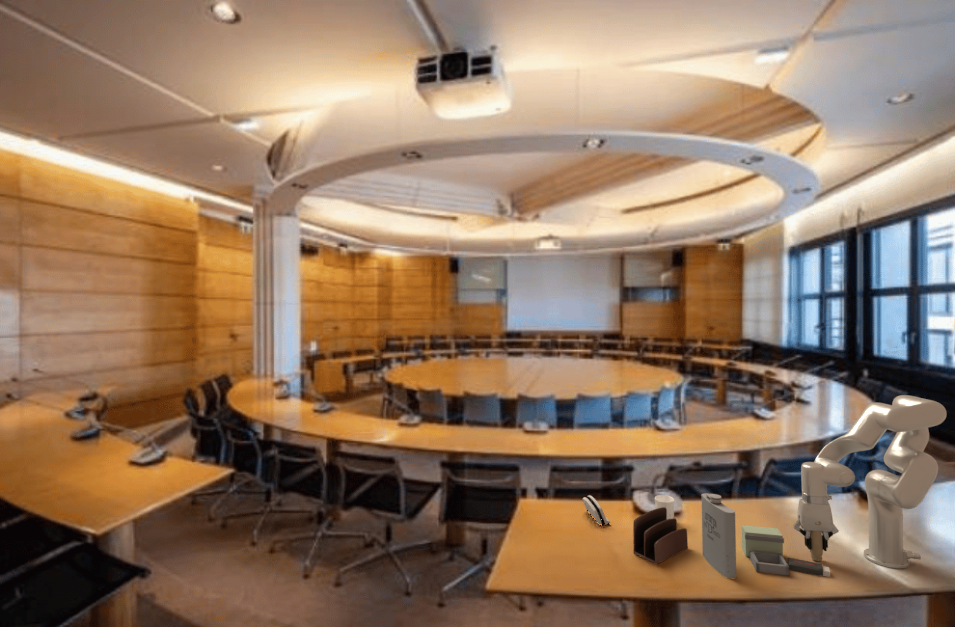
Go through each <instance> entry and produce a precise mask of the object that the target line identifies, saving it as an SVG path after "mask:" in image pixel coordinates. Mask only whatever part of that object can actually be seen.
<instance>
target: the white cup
mask: <svg viewBox="0 0 955 627" xmlns="http://www.w3.org/2000/svg"><path fill="white" fill-rule="evenodd" d="M662 507H665V508H666V509H667V520H668V519H673V518H675V498H673V497H672V496H670V495H666V494H663V495H662V494H658V495H655V497H654V508H655V509H657V508H662Z"/></svg>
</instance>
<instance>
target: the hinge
mask: <svg viewBox="0 0 955 627" xmlns="http://www.w3.org/2000/svg"><path fill="white" fill-rule="evenodd" d="M582 502H583V506H584V507H585V510H586V509H587V510H588V511H589V512H590V514H591V515H592V516H593V517H594V518H595V519H596V521H597V522H598V523H599V524H602V523H603V524H604V523H605V524H606V525H607V524H608V523H611V521H610V520H609V519H608V518H607V516H606V515H605V513H604V511H603V508H602V507H601V505H600V504H599V503H598V501H597V500H596V498H594V497H593V496H592V495H590V494H589V495H587V496H586V497H585V496H584V497H583V498H582ZM590 514H589V515H590ZM591 515H590V516H591ZM601 519H602V520H601ZM596 521H595V522H596ZM597 522H596V523H597ZM605 524H604V525H605ZM608 525H609V524H608Z"/></svg>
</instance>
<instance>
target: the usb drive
mask: <svg viewBox="0 0 955 627" xmlns="http://www.w3.org/2000/svg"><path fill="white" fill-rule="evenodd" d="M787 564H788V566H789V571H794V572H799V573H803V574H808V575H812V576H818V577H823V576H824V577H829V578H830V577H831V571H830V567H829V566H823V565H822V563H818V562H813V561H808V560H804V559H803V560H802V559H798V558H793V557H788V558H787Z"/></svg>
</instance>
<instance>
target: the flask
mask: <svg viewBox="0 0 955 627" xmlns="http://www.w3.org/2000/svg"><path fill="white" fill-rule="evenodd" d="M700 496H701V529H702V530H701V534H702V535H701V536H702V537H701V538H702V540H701V541H702V542H701V543H702V557H704V559H705V560H706V561H707V563H708V564H709V565H710V566H711V568H713V569H714V570H715V571H717V572H718V573H719V574H721V575H722V576H723V577H725V578H726V577H727V578H726V579H729V578H731V580H733V579H732V578H734V579H736V578H737V544H736V543H737V541H736V536H737V534H736V511H735V510H734V509H733V508H730V507H729V506H727V505H725V504H724V503H722V495H720V494H717V493H709V492H708V493H707V492H705V493H702V494H701V495H700Z"/></svg>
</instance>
